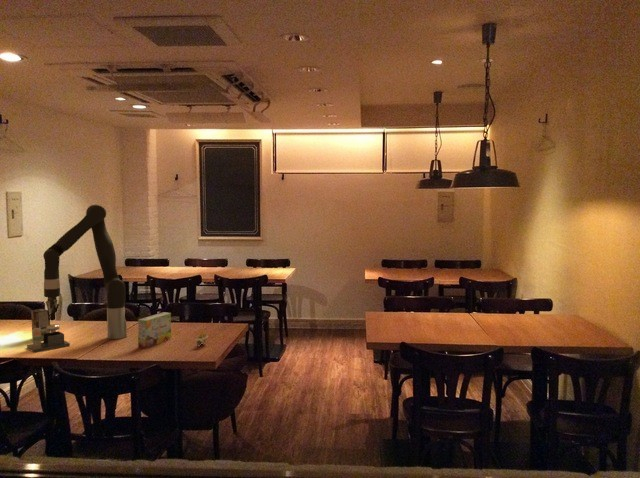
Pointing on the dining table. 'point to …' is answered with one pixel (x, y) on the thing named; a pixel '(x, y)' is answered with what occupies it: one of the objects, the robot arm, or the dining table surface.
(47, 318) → the coffee box
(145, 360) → the dining table surface
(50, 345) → the stand
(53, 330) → the plunger
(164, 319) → the snack box
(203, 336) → the pale green irregular piece
